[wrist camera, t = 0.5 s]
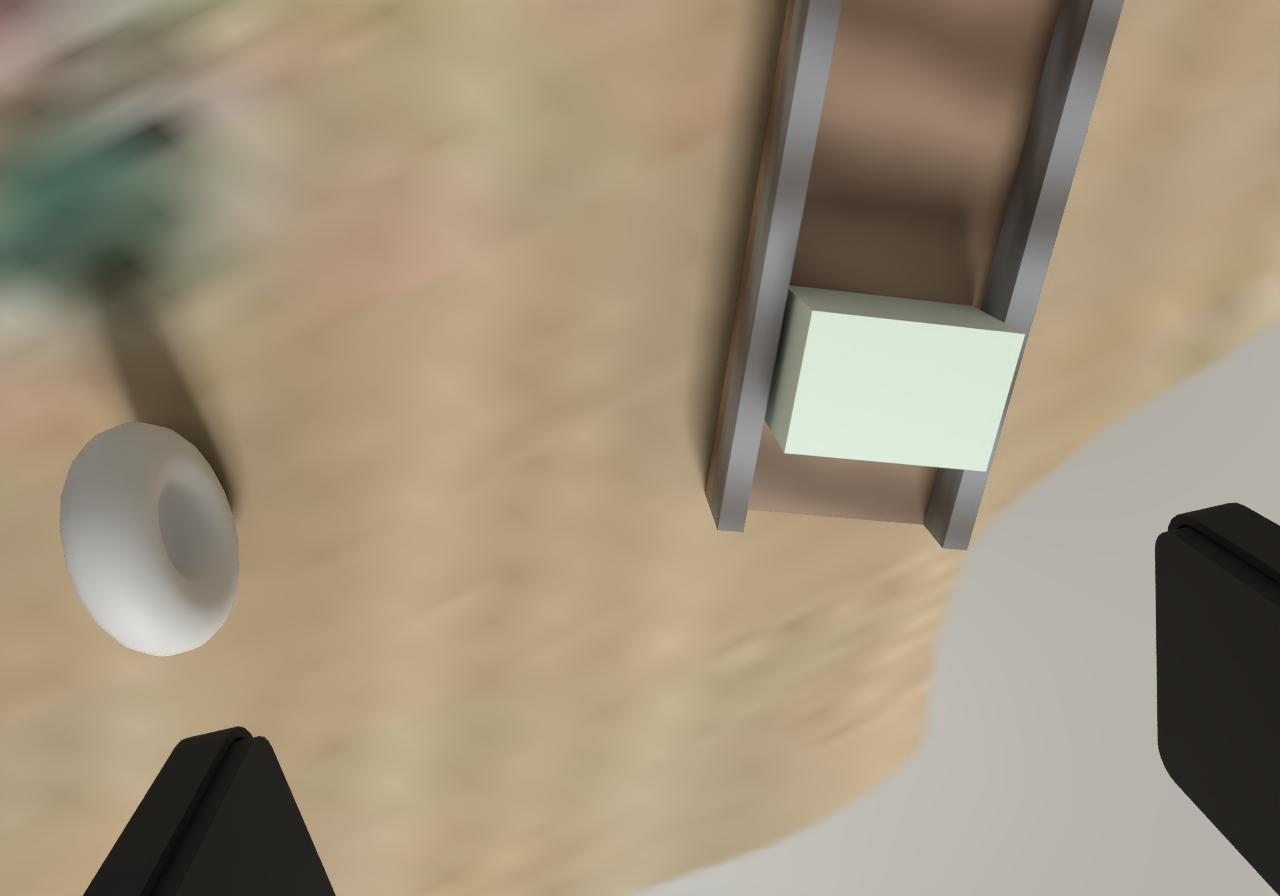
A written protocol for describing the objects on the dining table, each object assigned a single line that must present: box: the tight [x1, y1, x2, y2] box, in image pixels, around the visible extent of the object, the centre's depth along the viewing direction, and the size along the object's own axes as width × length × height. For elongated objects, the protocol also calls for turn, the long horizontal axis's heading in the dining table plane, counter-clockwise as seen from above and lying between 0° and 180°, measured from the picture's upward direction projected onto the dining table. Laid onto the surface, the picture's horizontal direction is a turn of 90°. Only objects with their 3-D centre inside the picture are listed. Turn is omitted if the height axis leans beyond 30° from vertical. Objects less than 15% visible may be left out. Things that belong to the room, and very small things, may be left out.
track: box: [705, 0, 1124, 550], centre depth 38 cm, size 32×12×6 cm, turn 173°
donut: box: [60, 422, 239, 656], centre depth 39 cm, size 10×3×10 cm, turn 12°
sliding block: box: [764, 285, 1025, 472], centre depth 40 cm, size 6×9×5 cm
